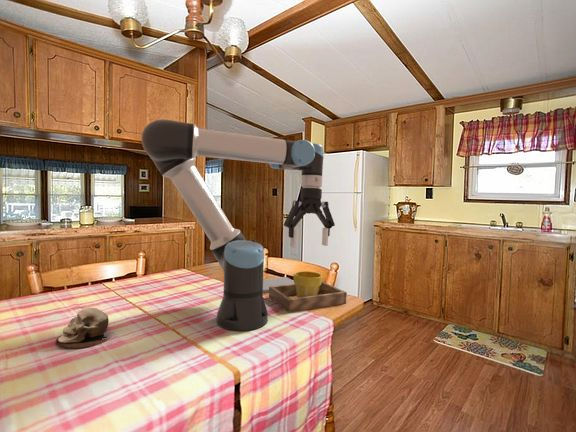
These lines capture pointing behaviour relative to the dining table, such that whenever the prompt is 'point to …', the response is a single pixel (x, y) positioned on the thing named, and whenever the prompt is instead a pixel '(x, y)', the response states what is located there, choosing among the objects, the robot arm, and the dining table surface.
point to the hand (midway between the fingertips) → (309, 246)
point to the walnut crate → (296, 304)
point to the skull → (85, 329)
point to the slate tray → (275, 283)
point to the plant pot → (307, 283)
